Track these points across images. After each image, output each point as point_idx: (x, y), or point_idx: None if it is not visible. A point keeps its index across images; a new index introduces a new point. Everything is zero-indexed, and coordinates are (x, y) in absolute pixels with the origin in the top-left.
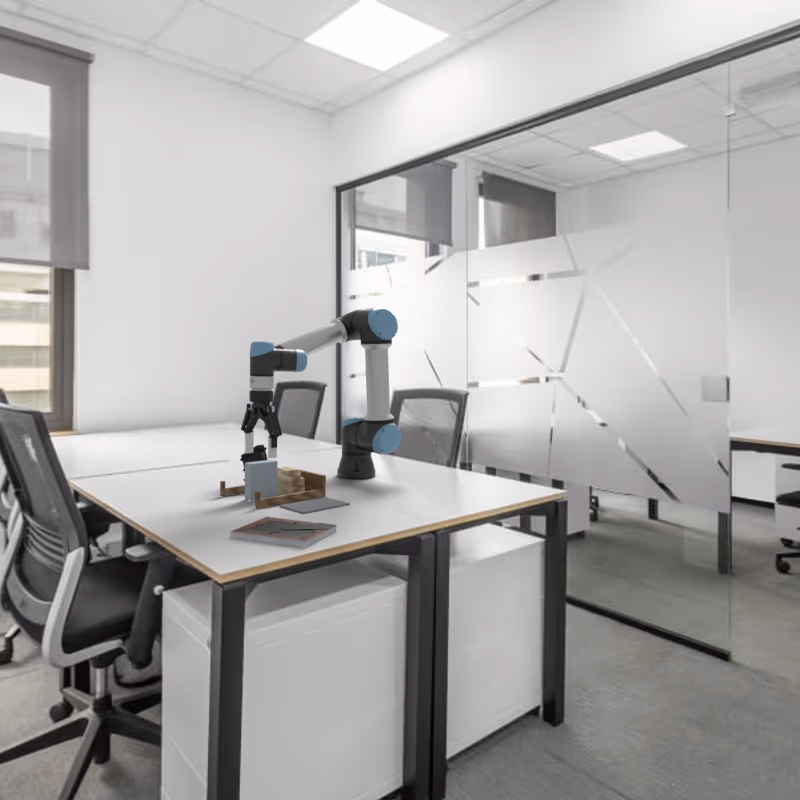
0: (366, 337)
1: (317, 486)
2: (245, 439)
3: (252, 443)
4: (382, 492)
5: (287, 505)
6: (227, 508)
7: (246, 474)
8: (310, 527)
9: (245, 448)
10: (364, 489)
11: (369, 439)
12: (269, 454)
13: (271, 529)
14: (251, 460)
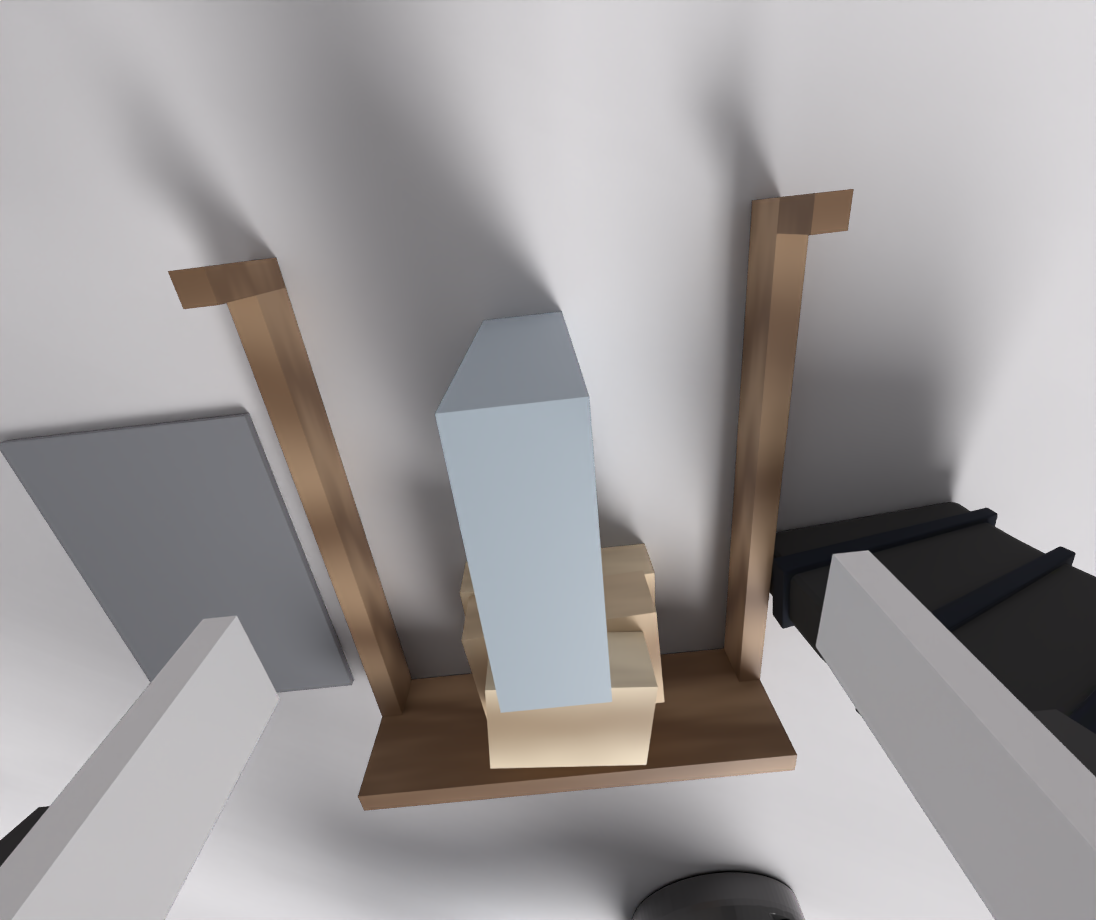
0: None
1: (428, 719)
2: (1069, 766)
3: (910, 769)
4: (357, 861)
5: (223, 452)
6: (346, 47)
7: (542, 361)
8: None
9: (906, 604)
10: (448, 843)
11: None
12: (165, 667)
13: None
14: (1040, 643)
